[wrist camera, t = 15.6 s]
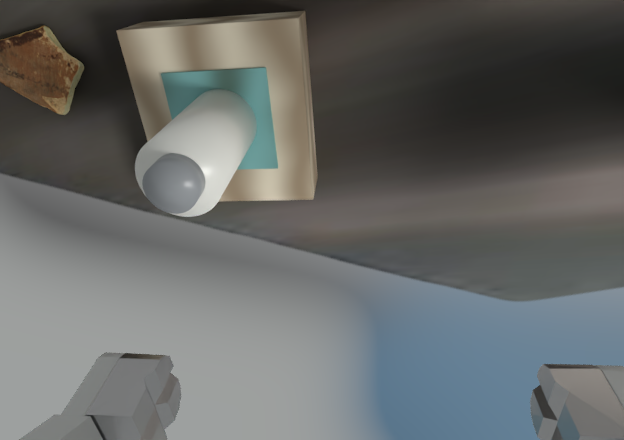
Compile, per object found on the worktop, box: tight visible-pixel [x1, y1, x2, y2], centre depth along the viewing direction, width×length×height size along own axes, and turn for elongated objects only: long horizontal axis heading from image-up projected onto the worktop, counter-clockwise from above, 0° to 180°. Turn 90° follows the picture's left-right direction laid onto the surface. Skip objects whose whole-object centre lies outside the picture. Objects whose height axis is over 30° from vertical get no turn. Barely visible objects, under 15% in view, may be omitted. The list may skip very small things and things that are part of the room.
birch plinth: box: [116, 11, 317, 201], centre depth 41 cm, size 15×16×5 cm
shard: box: [0, 26, 84, 115], centre depth 42 cm, size 11×8×2 cm
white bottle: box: [135, 89, 257, 217], centre depth 33 cm, size 6×6×13 cm
